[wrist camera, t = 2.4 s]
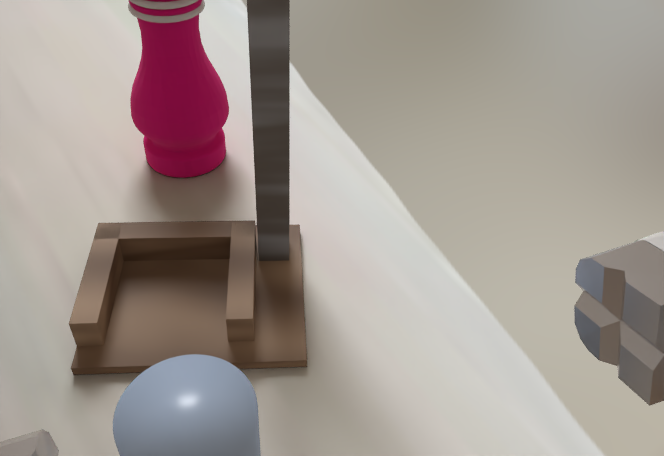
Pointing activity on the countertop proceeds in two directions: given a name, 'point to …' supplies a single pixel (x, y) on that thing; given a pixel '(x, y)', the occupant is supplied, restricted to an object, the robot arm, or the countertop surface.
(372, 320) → the countertop surface
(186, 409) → the grey tapered cup
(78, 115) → the countertop surface
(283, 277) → the hanger stand
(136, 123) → the pepper mill
